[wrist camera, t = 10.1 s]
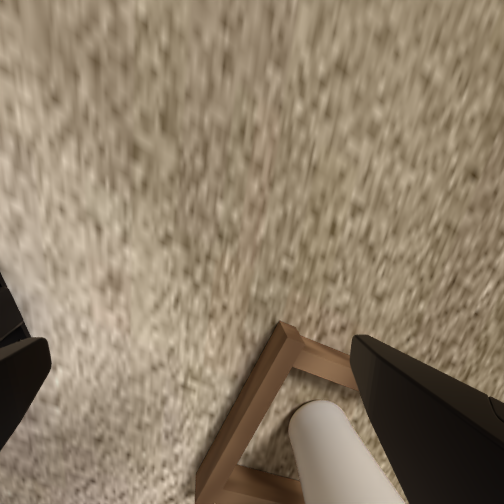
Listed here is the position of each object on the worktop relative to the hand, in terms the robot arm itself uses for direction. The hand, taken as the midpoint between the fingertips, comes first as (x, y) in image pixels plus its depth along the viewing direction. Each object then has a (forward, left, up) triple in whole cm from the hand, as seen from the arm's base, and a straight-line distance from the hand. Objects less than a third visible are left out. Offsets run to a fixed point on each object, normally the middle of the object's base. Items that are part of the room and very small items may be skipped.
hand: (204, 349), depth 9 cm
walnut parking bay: (+4, -17, -13) cm, 22 cm away
